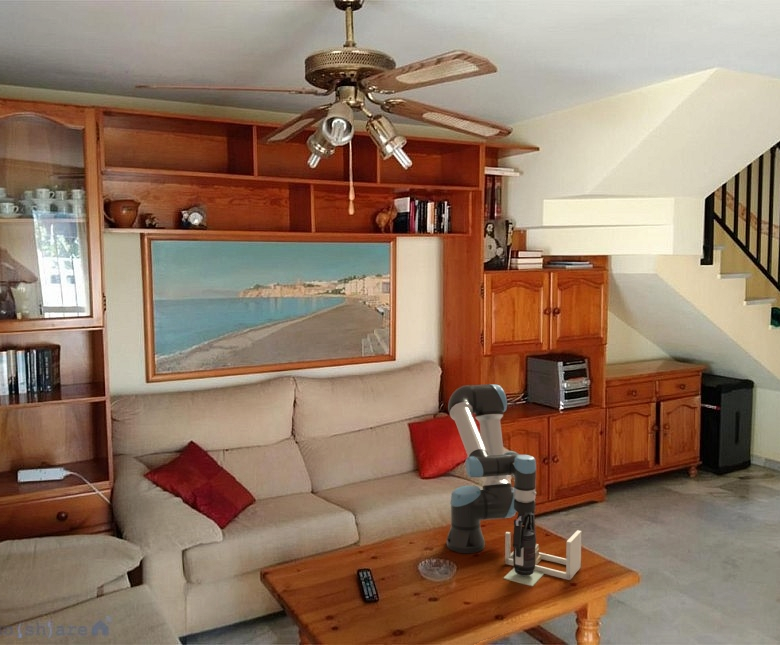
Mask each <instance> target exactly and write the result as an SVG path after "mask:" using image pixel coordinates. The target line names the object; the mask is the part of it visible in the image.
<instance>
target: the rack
mask: <svg viewBox="0 0 780 645" xmlns="http://www.w3.org/2000/svg"><path fill="white" fill-rule="evenodd" d="M511 536H512V532H510V531H506V532H505V536H504V537H505V539H504V540H505V541H504V542H505V545H504V546H505V547H504V548H505V549H504V551H505V552H504V554H505V555H504V559H505V561H504V562H505V563H504V564H506V565H509V566H513V567H514V563H513V552H514V550H513V551H512V552H511V550H512V549H511V548H512V546H511V545H512V541H511V540H512V538H511ZM565 548H566V550H565V554H566V556H565V558H564V557H560V556H557V555H553V554H547V553H545V552H540V551H539V555H541V560H544V561H547V562H548V561H549V562H553V563H557V564H561V565H564V566H565V571H561V570H557V569H554V568H550V567H546V566H541V565H538V564H537V565H535V569H534V571H537V572H541V573H544V575H548V576H552V577H555V578H559V579H560V578H561V579H563V580H568V581H571V580H572V579H573V577H574V576H575V575H576V573H577V572H579V570H580V569H581V568H582V567H581V566H582V530H579V529H577V530H576V531H575V532H574V533H573V534H572V535H571V536H570V537H569V538H568V539H567V540H566V547H565Z"/></svg>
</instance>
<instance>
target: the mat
mask: <svg viewBox="0 0 780 645" xmlns="http://www.w3.org/2000/svg"><path fill="white" fill-rule="evenodd" d="M544 575H545V574H544V573H541V572H537V571H534V572H533V574H531V575H528V576H524V575H519V574H517V573H516V572H515V568H514V567H513V568H512V569H511V570H510V571H509V572H508V573H506V575H505V576H504V577H503V580H507V581H510V582H511V581H512V582H515V583H519V584H521V585H525V586H526V585H527V586H529V587H534V586H535V585H536V584H537V582H538V581H539V580H540V579H541V578H542V577H543V576H544Z"/></svg>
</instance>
